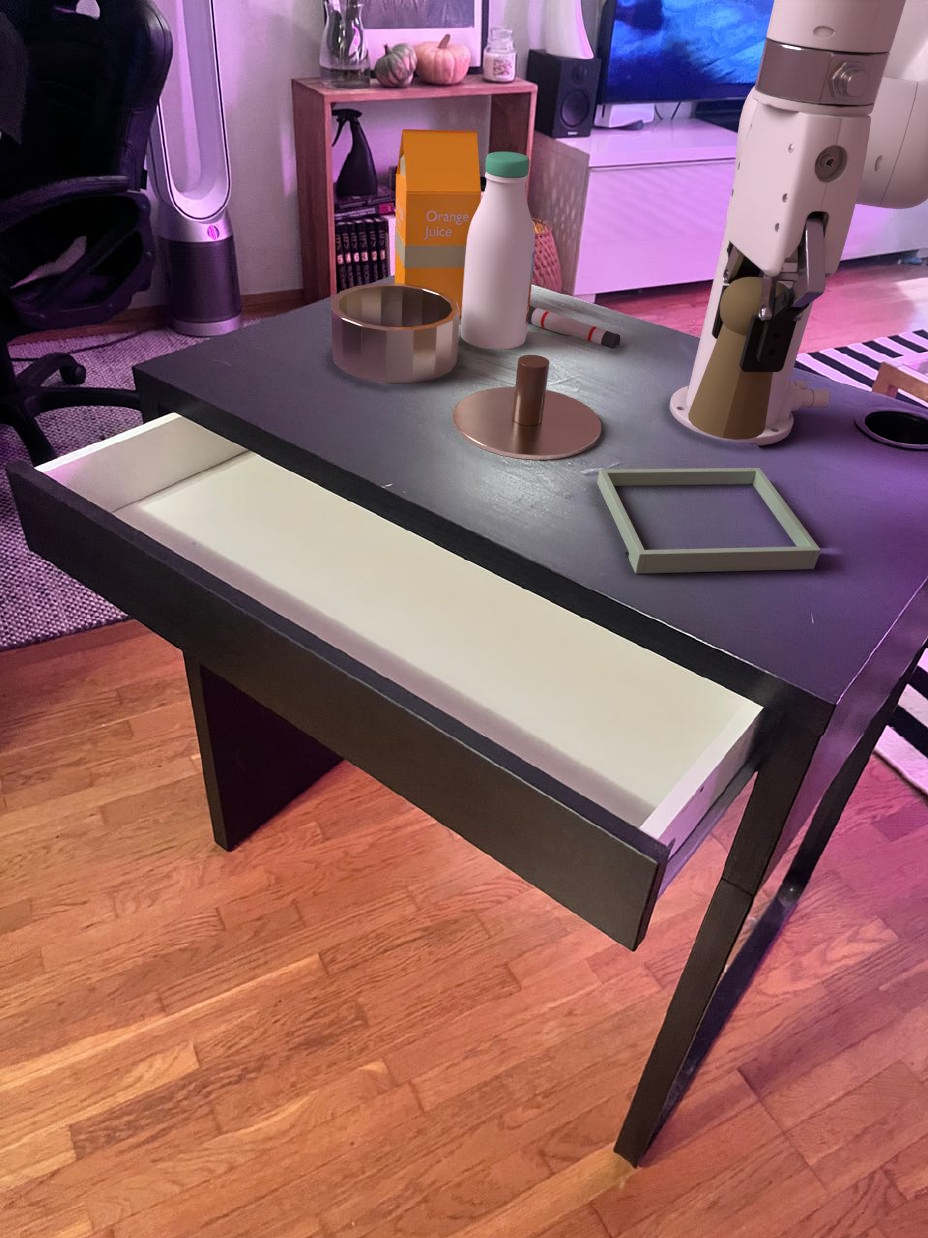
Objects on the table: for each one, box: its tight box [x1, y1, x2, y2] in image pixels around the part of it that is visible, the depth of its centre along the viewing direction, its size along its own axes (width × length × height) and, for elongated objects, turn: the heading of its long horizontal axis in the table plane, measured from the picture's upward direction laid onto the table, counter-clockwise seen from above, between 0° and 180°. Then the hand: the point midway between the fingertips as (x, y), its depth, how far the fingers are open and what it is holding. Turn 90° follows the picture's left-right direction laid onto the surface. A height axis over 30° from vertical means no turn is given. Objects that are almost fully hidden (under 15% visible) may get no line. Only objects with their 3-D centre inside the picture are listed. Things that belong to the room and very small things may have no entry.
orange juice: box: [394, 128, 482, 318], centre depth 109 cm, size 8×9×20 cm
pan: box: [330, 282, 461, 384], centre depth 100 cm, size 14×14×6 cm
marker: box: [528, 305, 622, 349], centre depth 111 cm, size 15×2×2 cm, turn 53°
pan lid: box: [452, 354, 602, 461], centre depth 89 cm, size 15×15×7 cm
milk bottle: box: [460, 151, 536, 351], centre depth 102 cm, size 8×8×20 cm
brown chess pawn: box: [688, 277, 788, 440], centre depth 69 cm, size 6×6×11 cm
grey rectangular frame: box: [596, 467, 822, 574], centre depth 78 cm, size 15×13×2 cm
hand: (745, 351), depth 69 cm, fingers closed on brown chess pawn, 5 cm apart
